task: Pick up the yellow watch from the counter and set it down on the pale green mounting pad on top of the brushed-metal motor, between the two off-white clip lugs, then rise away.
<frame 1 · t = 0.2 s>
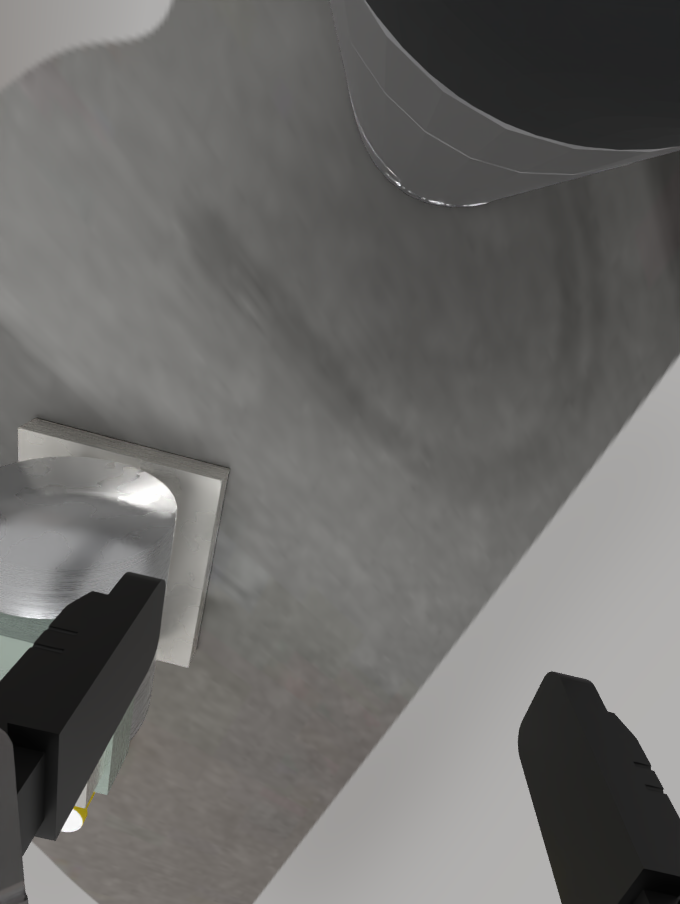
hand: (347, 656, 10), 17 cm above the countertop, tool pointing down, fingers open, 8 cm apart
motor: (123, 545, 31), on the countertop
yellow watch: (106, 735, 39), on the countertop
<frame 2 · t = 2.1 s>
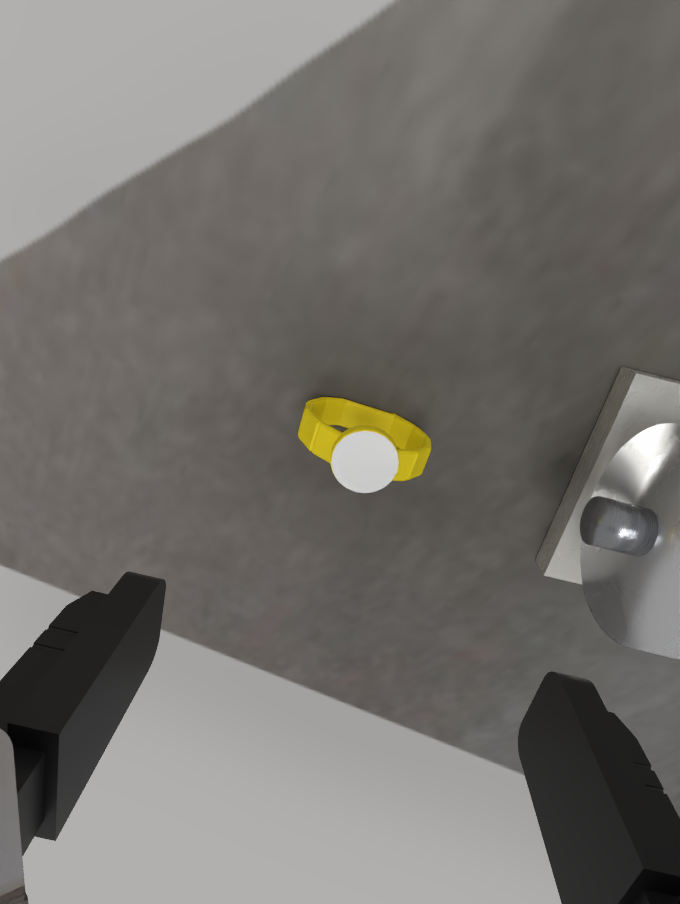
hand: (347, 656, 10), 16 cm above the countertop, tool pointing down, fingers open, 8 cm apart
yellow watch: (366, 417, 26), on the countertop
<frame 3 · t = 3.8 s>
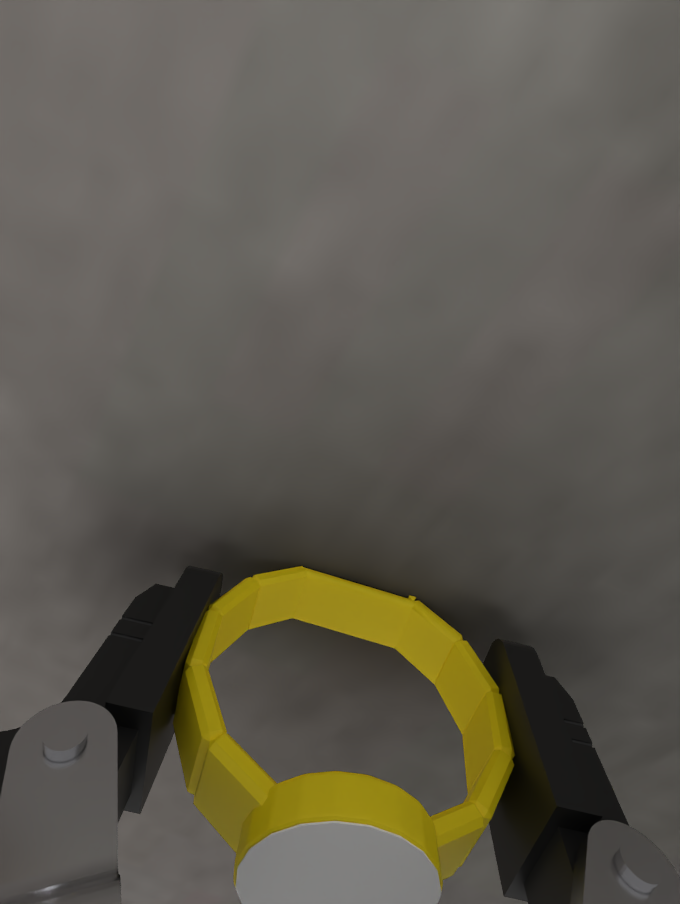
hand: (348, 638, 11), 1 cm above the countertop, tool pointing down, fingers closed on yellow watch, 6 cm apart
yellow watch: (352, 599, 12), on the countertop, touching gripper
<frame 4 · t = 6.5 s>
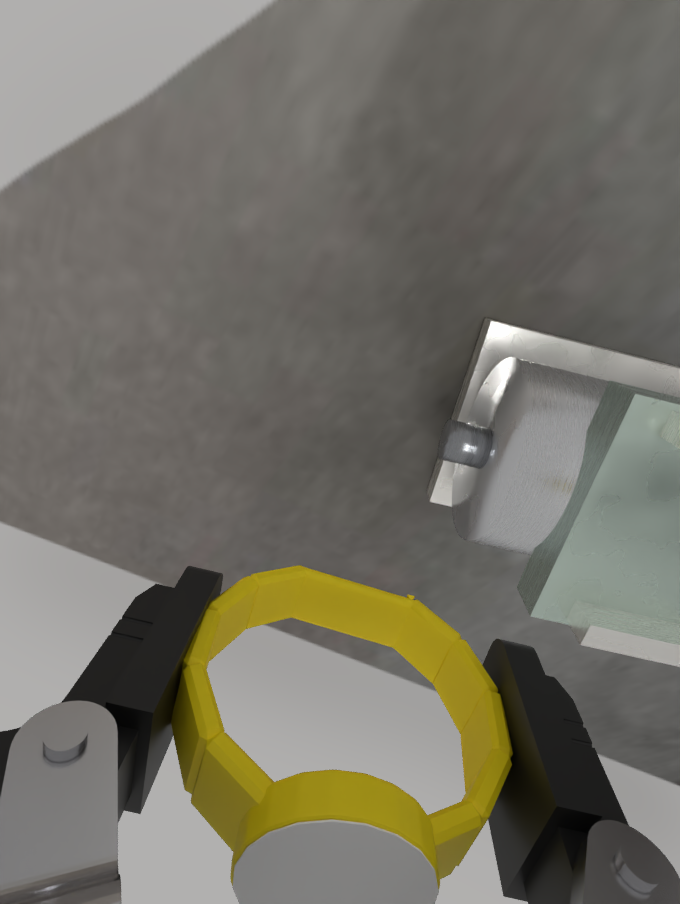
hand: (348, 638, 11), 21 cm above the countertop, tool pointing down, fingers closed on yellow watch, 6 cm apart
motor: (565, 437, 31), on the countertop
yellow watch: (350, 598, 12), point 19 cm above the countertop, touching gripper
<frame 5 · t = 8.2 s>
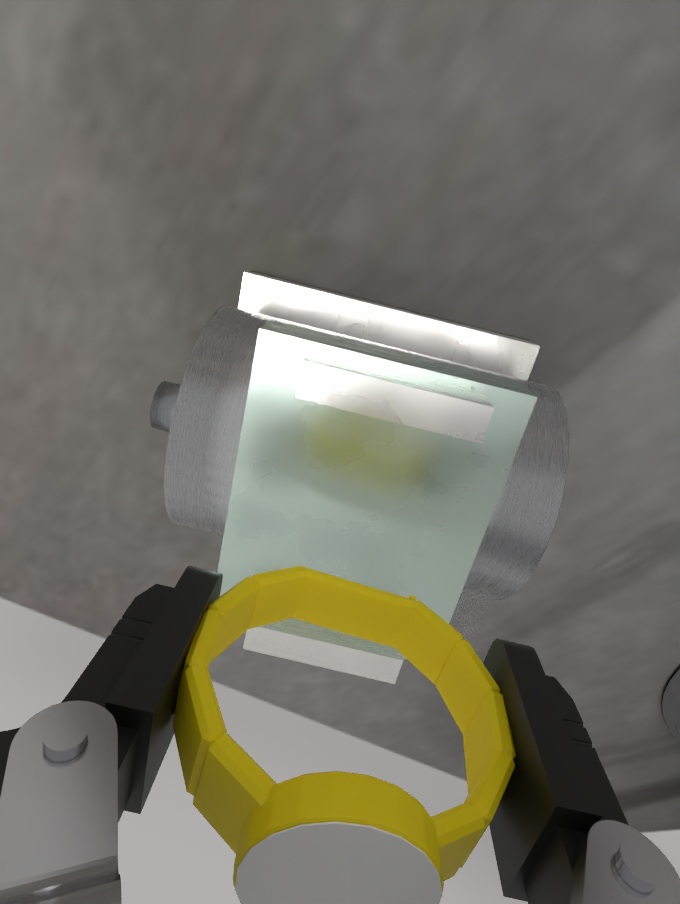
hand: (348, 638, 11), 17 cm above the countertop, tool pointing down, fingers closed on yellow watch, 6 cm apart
motor: (364, 412, 27), on the countertop
yellow watch: (352, 598, 12), point 16 cm above the countertop, touching gripper
when the fingers open (13 cm above the countertop, at t = 9.3 s): yellow watch stays where it is, resting on motor.
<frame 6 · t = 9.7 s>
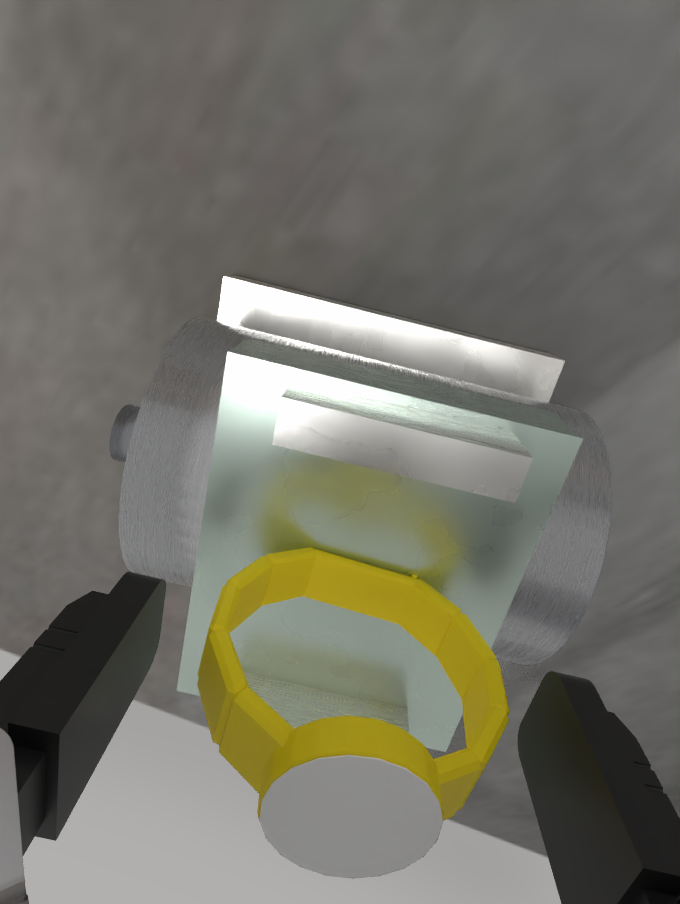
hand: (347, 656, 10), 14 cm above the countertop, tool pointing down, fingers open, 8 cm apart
motor: (362, 433, 24), on the countertop
yellow watch: (358, 578, 13), point 11 cm above the countertop, touching motor
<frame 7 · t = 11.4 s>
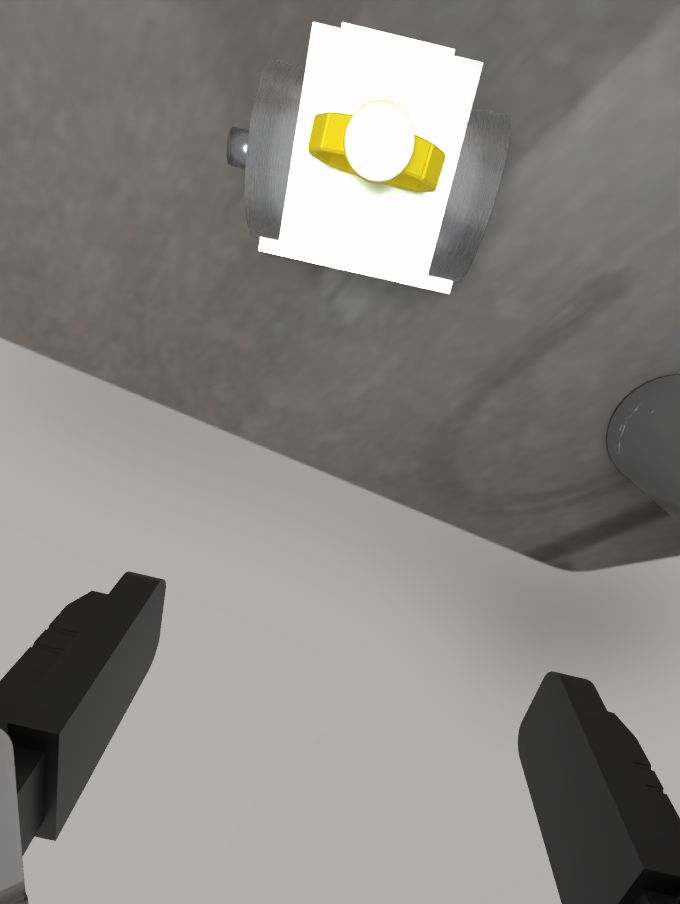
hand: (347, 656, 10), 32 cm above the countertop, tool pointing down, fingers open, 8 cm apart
motor: (372, 190, 36), on the countertop
yellow watch: (375, 165, 25), point 11 cm above the countertop, touching motor
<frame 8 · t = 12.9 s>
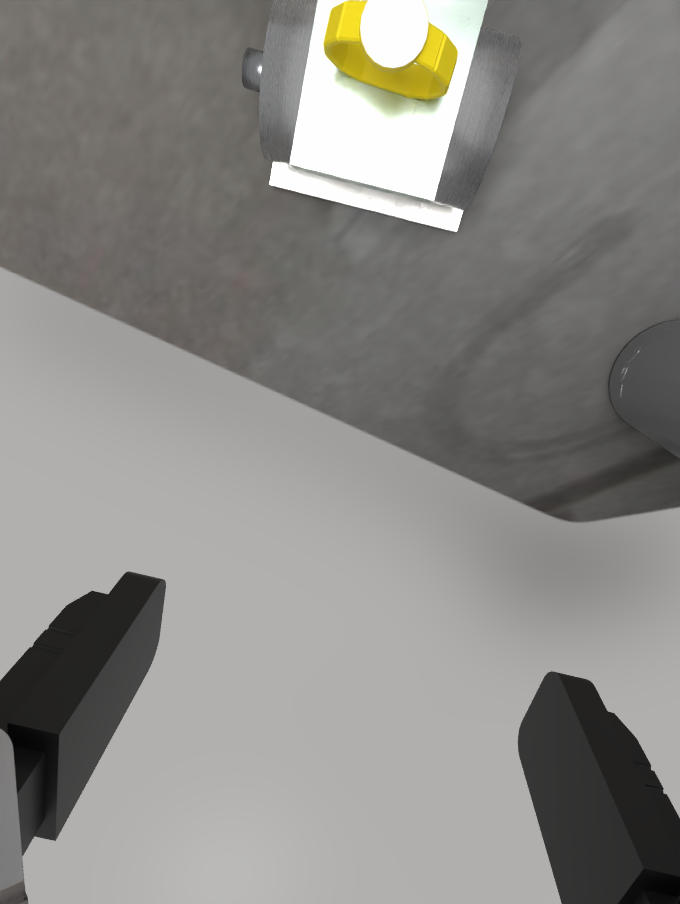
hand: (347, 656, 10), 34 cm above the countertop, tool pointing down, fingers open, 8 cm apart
motor: (382, 126, 36), on the countertop
yellow watch: (388, 75, 26), point 11 cm above the countertop, touching motor
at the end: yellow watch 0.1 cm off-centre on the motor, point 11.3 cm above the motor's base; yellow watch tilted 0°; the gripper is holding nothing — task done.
